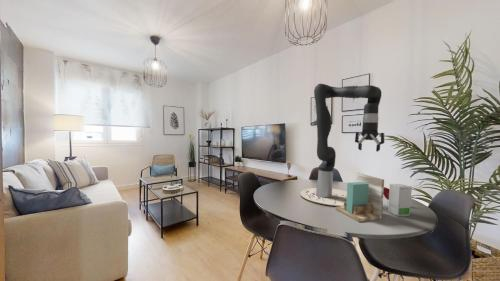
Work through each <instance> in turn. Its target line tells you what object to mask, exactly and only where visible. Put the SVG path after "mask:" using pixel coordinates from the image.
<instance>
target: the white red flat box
mask: <svg viewBox="0 0 500 281" xmlns="http://www.w3.org/2000/svg"><path fill="white" fill-rule="evenodd" d="M383 197H384V198H385V199H386V200H387V201H389V188H387V187H386V186H384V193H383ZM413 198H414V196H411V199H413Z"/></svg>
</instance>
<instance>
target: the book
mask: <svg viewBox="0 0 500 281" xmlns="http://www.w3.org/2000/svg"><path fill="white" fill-rule="evenodd" d="M346 185H347V187H346V188H347V189H346V201H345V202H346V211H348V212H350V213H352V214H353V212H354V206H363V205H368V188H369V184H368V183H364V182H356V181H353V182H347V184H346Z"/></svg>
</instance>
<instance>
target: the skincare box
mask: <svg viewBox="0 0 500 281" xmlns="http://www.w3.org/2000/svg"><path fill="white" fill-rule="evenodd" d="M388 189H389V200H388V202H387V204H388V207H387V212H388V213H390V214H392V215H394V216H396V217H401V216H402V217H407V216H409V217H410V216H411V203H412V198H411V197H412V190H413V189H412V186H410V185H406V184H403V183H389V188H388Z"/></svg>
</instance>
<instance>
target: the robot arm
mask: <svg viewBox="0 0 500 281" xmlns="http://www.w3.org/2000/svg"><path fill="white" fill-rule="evenodd" d="M313 95H314V101H315V102H314V103H315V108H316V109H315V110H316V129H317V130H316V132H317V143H316V157H317V158H318V159H319V160H320V161H321V163H320V164H319V165H318V171H317V173H318V175H317V176H318V177H317V180H316V187H315V188H316V191H315V192H316V193H315V194H316V195H317V196H318V197H322V198H332V196H333V181H334V168H335V165H336V156H337V155H336V150H335V148H334V147H332V146H329V145H328V144H329V143H328V140H329V135H330V132H331V130H332V116H331V113H330V110H329V108H328V106H327V101H326V100H327V99H330V98H331V99H332V98H345V99H367V103H366V104H365V105H364V106H363V116H362V129H361V130H362V131H361V132H359V131H356V132H355V138H354V142H355V143H358V145H357V149H358V150H359V151H362V150H363V148H362V147H363V144H362V143H364V141H373V142H375V143H376V150H375V151H376V152H378V153H379V151H380V149H381V145H383V144H385V132H378V131H379V106H380V102H381V99H382V90H381V88H380V87H378V86H375V85H368V84H367V85H361V86H359V85H347V86H342V87H341V86H340V87H338V86H337V87H336V86H330V85H328V84H325V83H318V84H317V85H316V86H315V87H314V90H313ZM360 136H362V137H361V138H360ZM378 136H379V137H380V140H379V139H378V138H377V137H378ZM359 139H360V140H359Z"/></svg>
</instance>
